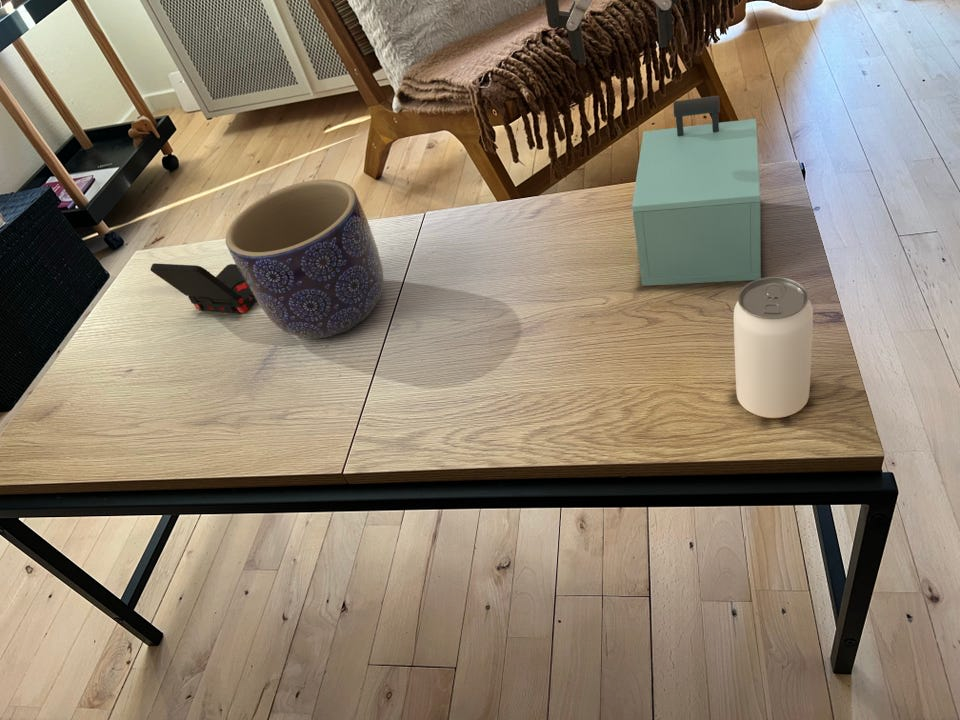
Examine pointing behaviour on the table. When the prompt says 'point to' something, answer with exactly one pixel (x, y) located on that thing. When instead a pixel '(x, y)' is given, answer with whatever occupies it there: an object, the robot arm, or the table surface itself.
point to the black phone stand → (209, 287)
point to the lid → (698, 162)
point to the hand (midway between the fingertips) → (622, 52)
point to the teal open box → (699, 244)
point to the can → (773, 346)
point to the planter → (309, 258)
